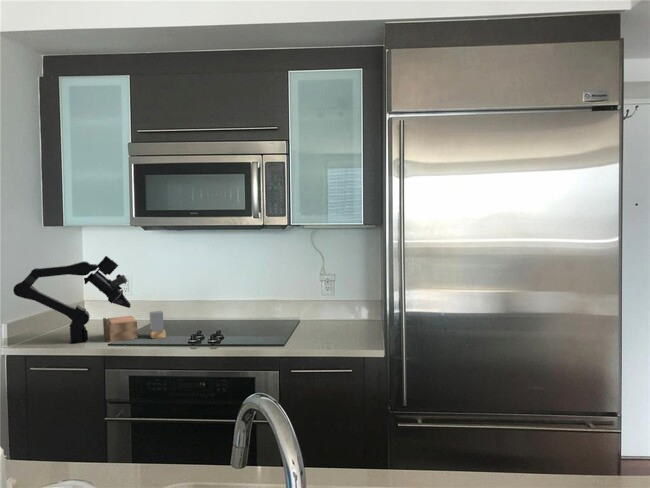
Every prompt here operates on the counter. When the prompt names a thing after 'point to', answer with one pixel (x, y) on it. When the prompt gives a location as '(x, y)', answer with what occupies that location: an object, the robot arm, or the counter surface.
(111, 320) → the terracotta flap
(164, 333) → the oak plinth
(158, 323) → the granite block
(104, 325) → the walnut frame
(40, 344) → the counter surface
